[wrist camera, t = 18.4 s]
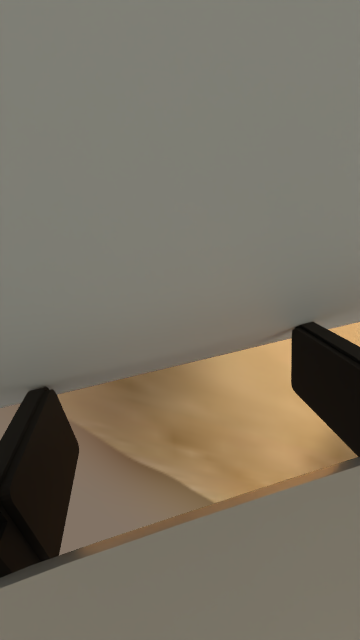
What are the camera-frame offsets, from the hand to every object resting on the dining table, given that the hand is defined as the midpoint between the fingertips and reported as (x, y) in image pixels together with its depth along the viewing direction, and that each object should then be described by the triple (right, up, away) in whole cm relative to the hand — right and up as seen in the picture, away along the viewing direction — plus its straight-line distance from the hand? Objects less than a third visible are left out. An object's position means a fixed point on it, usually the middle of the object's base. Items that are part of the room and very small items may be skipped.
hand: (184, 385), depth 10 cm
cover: (0, +4, -6) cm, 7 cm away
